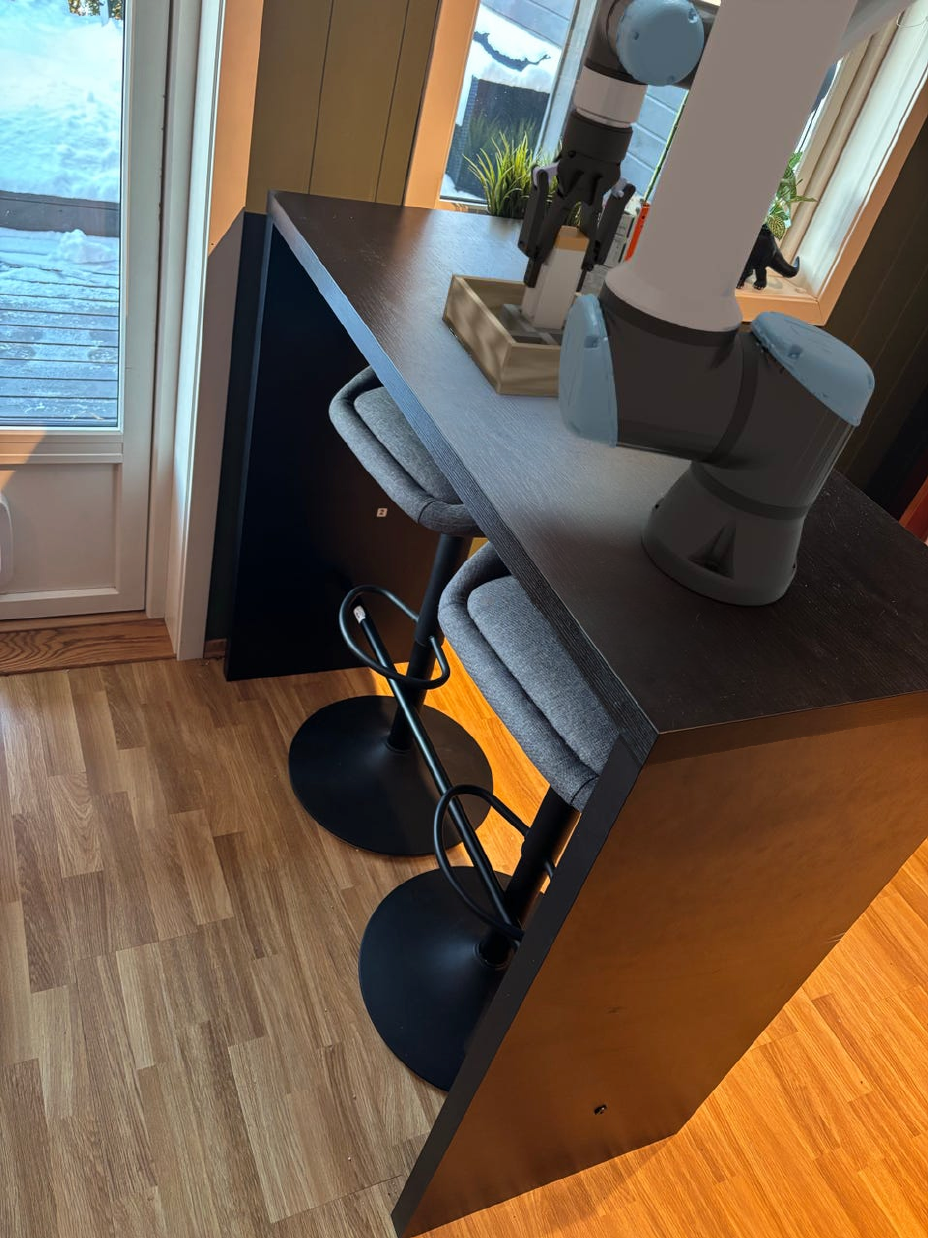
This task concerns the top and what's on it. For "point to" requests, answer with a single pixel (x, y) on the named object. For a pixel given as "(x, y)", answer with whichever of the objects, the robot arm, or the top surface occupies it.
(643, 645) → the top surface
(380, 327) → the top surface
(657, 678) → the top surface
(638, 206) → the candy bar box
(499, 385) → the walled box
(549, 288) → the plug
